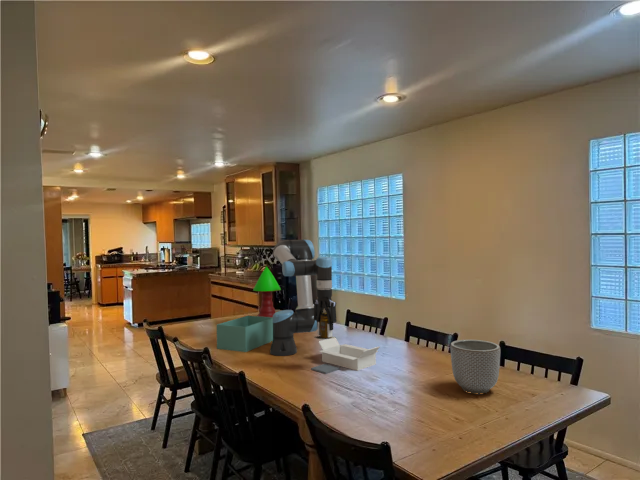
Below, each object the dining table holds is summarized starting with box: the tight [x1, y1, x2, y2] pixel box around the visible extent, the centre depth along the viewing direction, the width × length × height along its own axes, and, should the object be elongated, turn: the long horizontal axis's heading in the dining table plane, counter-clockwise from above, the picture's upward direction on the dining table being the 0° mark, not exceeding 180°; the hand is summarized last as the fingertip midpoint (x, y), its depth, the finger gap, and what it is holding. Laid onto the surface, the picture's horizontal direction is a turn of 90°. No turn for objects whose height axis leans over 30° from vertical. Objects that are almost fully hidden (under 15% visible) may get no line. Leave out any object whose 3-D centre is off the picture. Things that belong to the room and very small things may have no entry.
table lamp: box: [252, 266, 282, 317], centre depth 314 cm, size 20×20×45 cm
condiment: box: [313, 311, 337, 341], centre depth 218 cm, size 7×8×12 cm
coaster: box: [310, 363, 341, 375], centre depth 218 cm, size 10×10×1 cm
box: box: [216, 315, 273, 353], centre depth 272 cm, size 21×32×14 cm, turn 154°
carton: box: [317, 338, 381, 372], centre depth 229 cm, size 31×20×10 cm, turn 45°
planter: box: [449, 339, 501, 395], centre depth 185 cm, size 20×20×19 cm
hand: (325, 335), depth 218 cm, fingers closed on condiment, 6 cm apart
